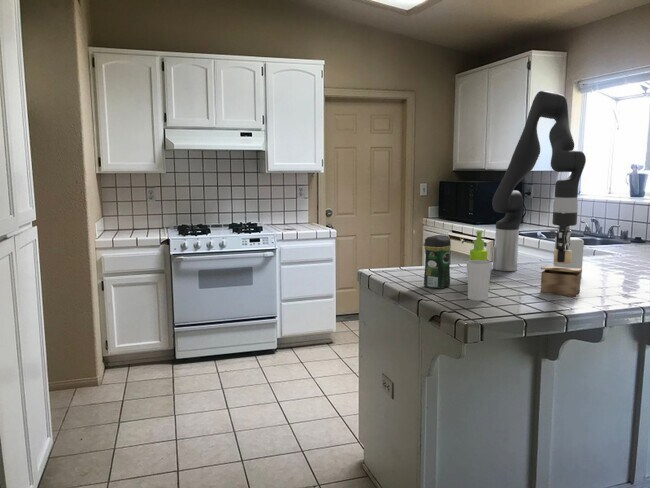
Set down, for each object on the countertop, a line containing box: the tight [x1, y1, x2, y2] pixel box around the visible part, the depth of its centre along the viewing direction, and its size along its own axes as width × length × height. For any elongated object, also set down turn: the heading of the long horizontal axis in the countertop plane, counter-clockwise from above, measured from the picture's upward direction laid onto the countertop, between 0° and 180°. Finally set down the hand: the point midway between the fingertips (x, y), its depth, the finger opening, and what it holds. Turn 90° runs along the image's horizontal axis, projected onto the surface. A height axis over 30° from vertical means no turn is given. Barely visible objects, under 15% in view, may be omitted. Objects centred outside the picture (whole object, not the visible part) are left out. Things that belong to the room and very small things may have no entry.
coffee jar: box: [423, 234, 452, 290], centre depth 191 cm, size 10×8×19 cm
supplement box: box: [553, 236, 585, 278], centre depth 212 cm, size 9×9×15 cm
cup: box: [466, 259, 493, 302], centre depth 174 cm, size 8×8×12 cm
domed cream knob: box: [553, 249, 572, 263], centre depth 181 cm, size 6×6×4 cm
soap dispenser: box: [469, 230, 488, 261], centre depth 192 cm, size 6×7×20 cm
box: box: [540, 269, 582, 298], centre depth 183 cm, size 11×9×7 cm
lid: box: [540, 265, 583, 273], centre depth 182 cm, size 12×10×1 cm
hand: (562, 260), depth 182 cm, fingers closed on domed cream knob, 5 cm apart
